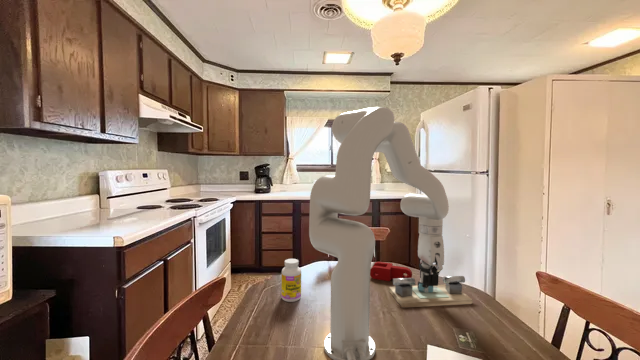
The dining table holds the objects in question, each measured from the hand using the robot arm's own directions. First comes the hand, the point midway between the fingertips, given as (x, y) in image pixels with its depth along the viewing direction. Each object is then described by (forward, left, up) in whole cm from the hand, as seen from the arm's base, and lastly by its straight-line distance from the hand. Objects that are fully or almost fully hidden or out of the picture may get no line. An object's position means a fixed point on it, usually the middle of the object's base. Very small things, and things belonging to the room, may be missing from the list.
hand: (428, 281), depth 97 cm
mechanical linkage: (+18, +7, -6) cm, 20 cm away
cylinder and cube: (0, 0, -4) cm, 4 cm away
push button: (+1, 0, -4) cm, 4 cm away
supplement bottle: (+4, +47, -6) cm, 47 cm away
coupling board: (0, 0, -6) cm, 6 cm away
